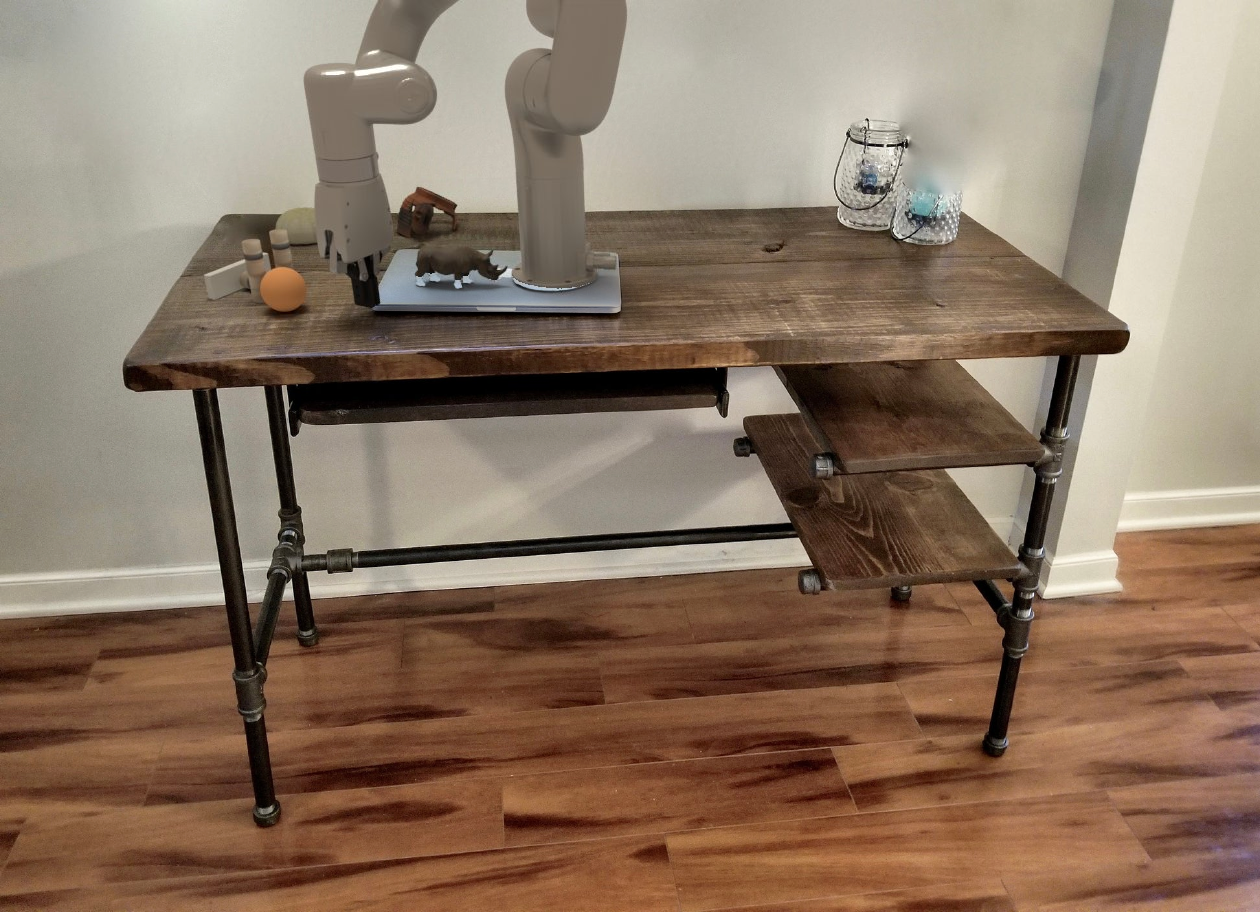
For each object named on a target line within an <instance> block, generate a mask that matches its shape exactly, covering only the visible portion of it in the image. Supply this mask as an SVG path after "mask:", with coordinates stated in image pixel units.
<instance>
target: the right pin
mask: <svg viewBox="0 0 1260 912" xmlns="http://www.w3.org/2000/svg"><path fill="white" fill-rule="evenodd" d="M268 234H269V238H270V246H271V250H272V253H273V260H274V266H275V268H278V267H287V268H290V269H293V270H295V269H294V263H293V257H292V251H291V244H290V243H289V239H288V234H287V230H285V229H272V230H270V231H269V233H268Z"/></svg>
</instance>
